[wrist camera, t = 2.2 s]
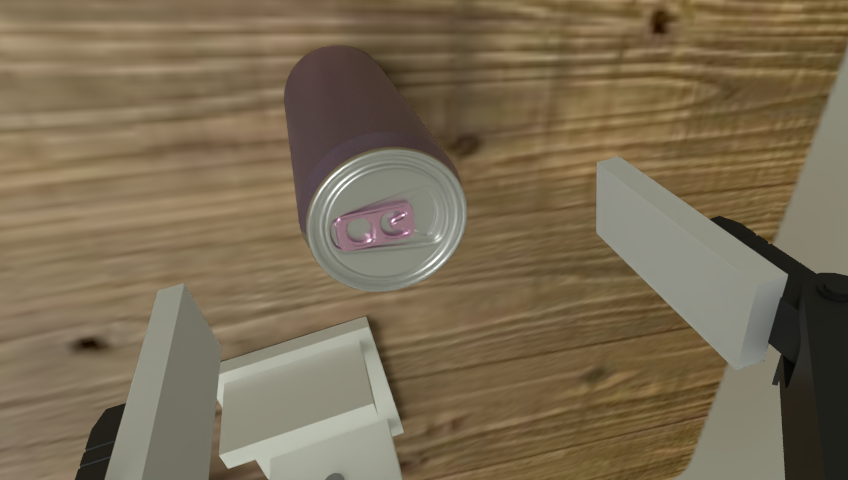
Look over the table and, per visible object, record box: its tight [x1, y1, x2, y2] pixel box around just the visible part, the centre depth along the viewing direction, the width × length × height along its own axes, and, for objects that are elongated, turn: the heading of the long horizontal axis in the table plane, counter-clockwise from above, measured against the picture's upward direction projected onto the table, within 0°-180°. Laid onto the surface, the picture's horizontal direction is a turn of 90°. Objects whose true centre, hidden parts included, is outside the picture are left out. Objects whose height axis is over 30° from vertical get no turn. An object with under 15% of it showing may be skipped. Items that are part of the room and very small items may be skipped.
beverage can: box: [284, 45, 467, 292], centre depth 24 cm, size 6×6×15 cm
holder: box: [217, 316, 404, 480], centre depth 39 cm, size 12×13×7 cm
